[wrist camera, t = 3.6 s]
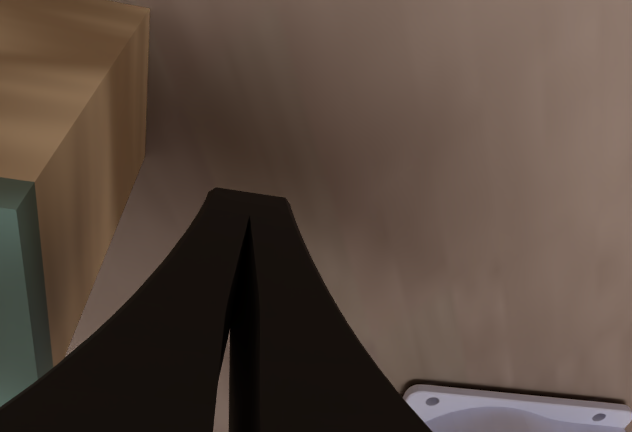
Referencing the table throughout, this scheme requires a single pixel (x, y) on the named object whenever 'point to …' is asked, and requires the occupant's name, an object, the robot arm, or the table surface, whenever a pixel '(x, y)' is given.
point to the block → (62, 165)
